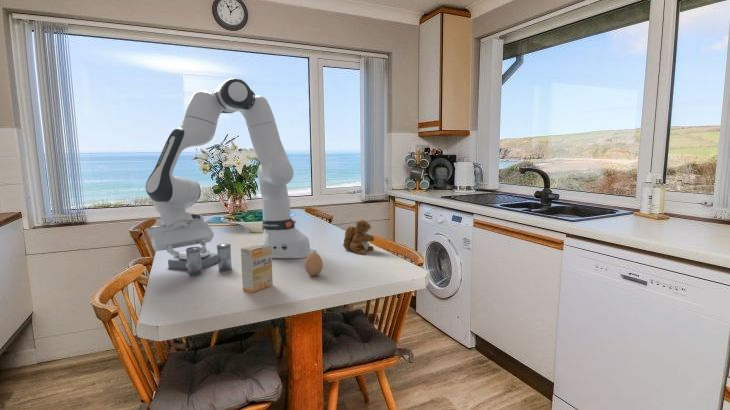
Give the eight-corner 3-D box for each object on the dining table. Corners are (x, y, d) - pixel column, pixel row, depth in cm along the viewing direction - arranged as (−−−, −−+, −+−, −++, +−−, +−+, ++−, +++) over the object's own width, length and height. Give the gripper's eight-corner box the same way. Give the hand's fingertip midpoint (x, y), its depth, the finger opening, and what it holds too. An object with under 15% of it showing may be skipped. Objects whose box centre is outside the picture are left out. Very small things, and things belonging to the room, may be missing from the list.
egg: (301, 275, 129) (301, 252, 128) (317, 271, 132) (316, 249, 131) (310, 279, 124) (309, 256, 123) (326, 275, 128) (325, 252, 127)
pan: (216, 252, 146) (216, 250, 146) (196, 260, 136) (196, 257, 136) (192, 251, 150) (192, 248, 149) (171, 258, 139) (170, 256, 139)
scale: (220, 261, 147) (219, 252, 147) (197, 270, 135) (196, 261, 135) (191, 259, 151) (191, 250, 150) (167, 268, 139) (166, 259, 138)
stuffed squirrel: (365, 255, 153) (365, 223, 151) (336, 251, 160) (336, 220, 159) (377, 250, 162) (377, 219, 160) (349, 246, 169) (349, 216, 167)
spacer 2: (234, 267, 138) (233, 243, 137) (226, 271, 134) (225, 246, 133) (223, 267, 140) (222, 243, 138) (215, 270, 135) (213, 245, 134)
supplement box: (253, 293, 113) (251, 249, 111) (242, 290, 115) (239, 247, 113) (273, 285, 120) (271, 244, 118) (262, 282, 122) (260, 242, 120)
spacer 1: (205, 272, 134) (203, 247, 132) (196, 276, 129) (194, 250, 128) (194, 271, 135) (192, 246, 134) (184, 275, 130) (182, 249, 129)
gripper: (147, 221, 128) (161, 255, 122) (206, 214, 143) (221, 244, 138) (143, 233, 131) (157, 266, 126) (201, 225, 146) (216, 254, 141)
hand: (191, 254), depth 132 cm, fingers open, 8 cm apart
